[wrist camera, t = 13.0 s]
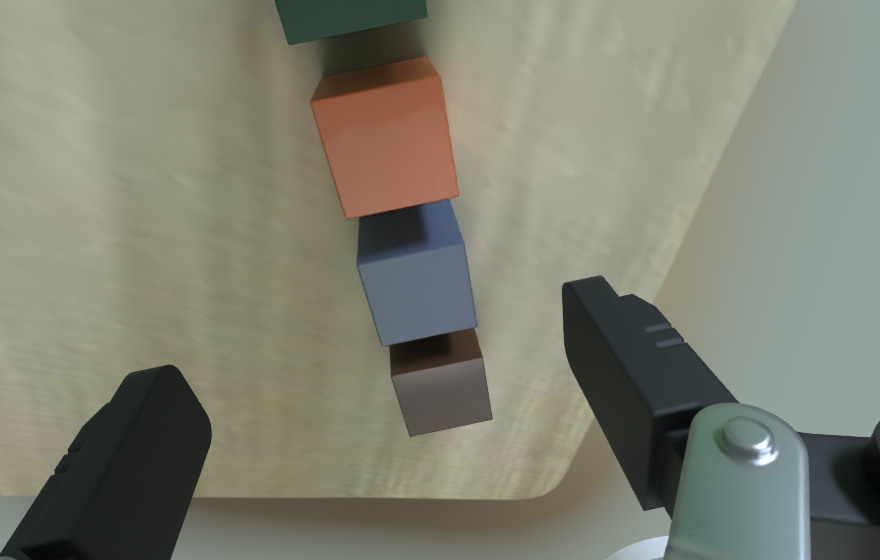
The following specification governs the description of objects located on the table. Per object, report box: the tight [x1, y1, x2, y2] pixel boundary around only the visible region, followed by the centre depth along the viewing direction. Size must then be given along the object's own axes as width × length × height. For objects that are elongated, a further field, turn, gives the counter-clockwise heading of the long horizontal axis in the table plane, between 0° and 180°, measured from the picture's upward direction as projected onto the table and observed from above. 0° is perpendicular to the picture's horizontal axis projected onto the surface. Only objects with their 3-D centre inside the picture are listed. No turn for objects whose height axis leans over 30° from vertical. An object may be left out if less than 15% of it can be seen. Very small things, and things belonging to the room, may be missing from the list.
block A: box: [390, 328, 493, 437], centre depth 27 cm, size 5×5×5 cm
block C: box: [310, 56, 459, 219], centre depth 20 cm, size 5×5×5 cm
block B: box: [357, 200, 477, 346], centre depth 23 cm, size 5×5×5 cm
